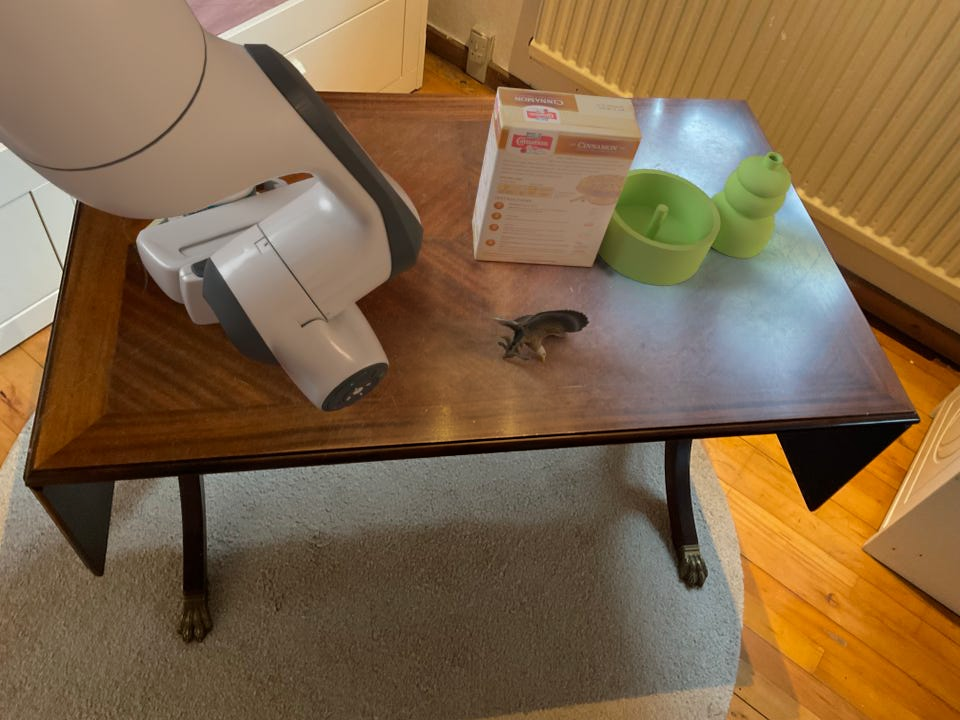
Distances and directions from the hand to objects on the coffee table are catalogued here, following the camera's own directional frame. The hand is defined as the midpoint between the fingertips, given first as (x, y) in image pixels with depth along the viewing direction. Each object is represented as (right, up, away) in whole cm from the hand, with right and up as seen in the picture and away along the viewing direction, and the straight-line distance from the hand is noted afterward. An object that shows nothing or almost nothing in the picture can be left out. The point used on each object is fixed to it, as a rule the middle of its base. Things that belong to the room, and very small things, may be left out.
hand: (215, 185), depth 77 cm
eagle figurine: (+34, -17, +5) cm, 38 cm away
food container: (+54, -3, +20) cm, 58 cm away
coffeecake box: (+34, -4, +15) cm, 37 cm away
